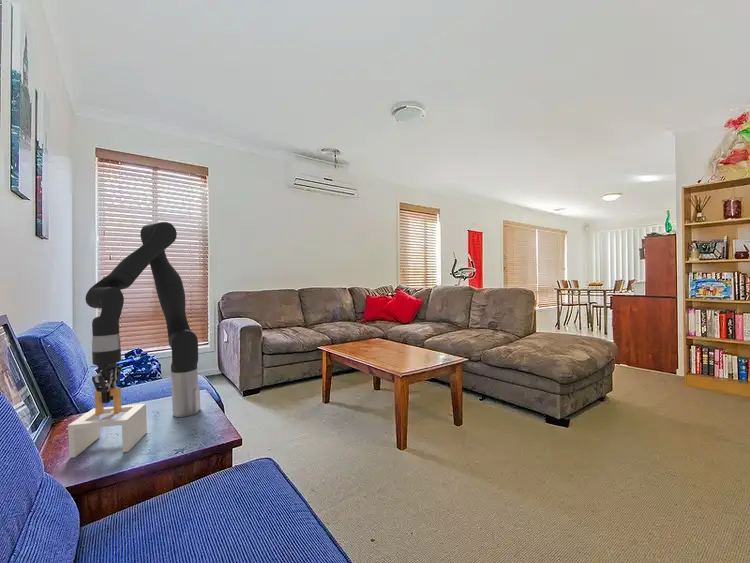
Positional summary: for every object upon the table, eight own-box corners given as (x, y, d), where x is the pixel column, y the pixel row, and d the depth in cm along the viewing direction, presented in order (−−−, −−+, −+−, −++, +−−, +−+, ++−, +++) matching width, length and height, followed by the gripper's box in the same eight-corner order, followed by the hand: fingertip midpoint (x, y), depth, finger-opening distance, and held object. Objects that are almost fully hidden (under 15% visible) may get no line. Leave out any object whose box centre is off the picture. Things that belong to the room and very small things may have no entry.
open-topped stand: (147, 431, 127) (145, 403, 127) (128, 451, 113) (126, 419, 113) (95, 437, 124) (93, 408, 123) (69, 457, 110) (67, 425, 110)
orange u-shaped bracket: (121, 411, 120) (120, 387, 120) (117, 413, 118) (117, 389, 117) (99, 412, 119) (98, 388, 118) (95, 415, 116) (94, 391, 116)
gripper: (108, 352, 111) (110, 408, 112) (129, 343, 125) (131, 393, 126) (80, 353, 110) (82, 410, 110) (105, 344, 124) (106, 395, 124)
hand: (108, 401), depth 118 cm, fingers closed on orange u-shaped bracket, 2 cm apart
